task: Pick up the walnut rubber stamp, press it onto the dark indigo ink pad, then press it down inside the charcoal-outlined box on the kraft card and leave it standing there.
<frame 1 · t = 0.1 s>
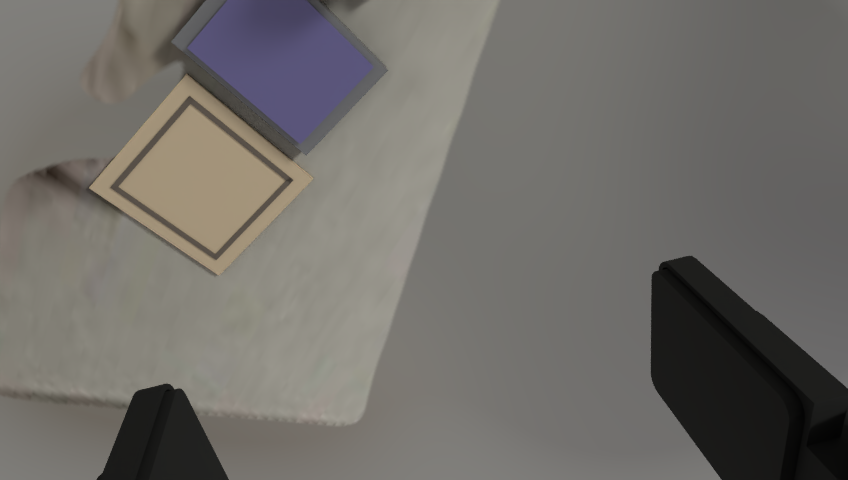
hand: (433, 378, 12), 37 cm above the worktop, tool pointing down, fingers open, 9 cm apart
ink pad: (284, 52, 44), on the worktop
card: (204, 182, 47), on the worktop
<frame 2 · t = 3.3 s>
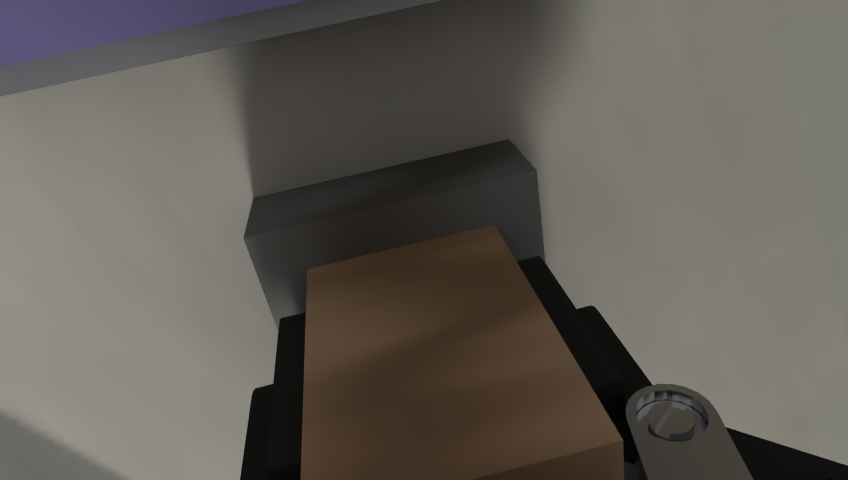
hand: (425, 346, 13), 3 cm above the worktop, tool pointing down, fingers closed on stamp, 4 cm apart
stamp: (407, 276, 15), on the worktop, touching gripper
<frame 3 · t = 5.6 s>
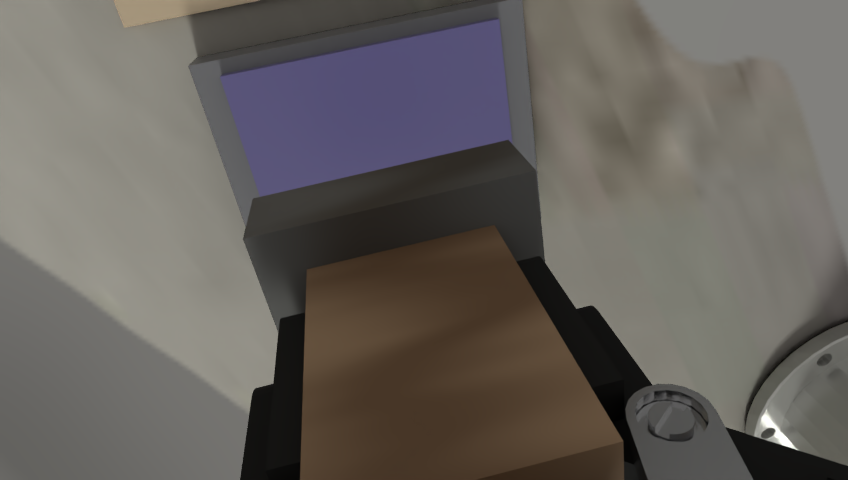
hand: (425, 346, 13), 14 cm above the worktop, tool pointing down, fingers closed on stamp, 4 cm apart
ink pad: (379, 138, 24), on the worktop
stamp: (407, 277, 15), point 11 cm above the worktop, touching gripper
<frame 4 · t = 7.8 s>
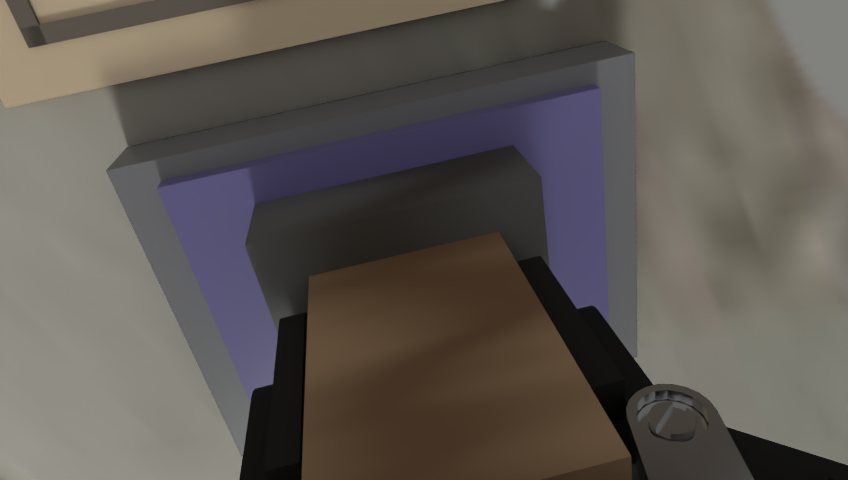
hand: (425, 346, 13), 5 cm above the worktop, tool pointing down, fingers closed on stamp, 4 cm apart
ink pad: (406, 249, 17), on the worktop
stamp: (410, 283, 15), point 2 cm above the worktop, touching gripper, ink pad
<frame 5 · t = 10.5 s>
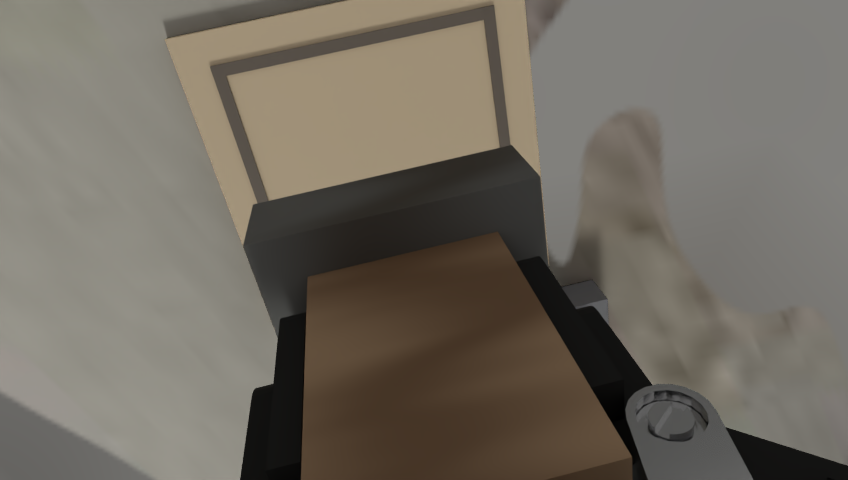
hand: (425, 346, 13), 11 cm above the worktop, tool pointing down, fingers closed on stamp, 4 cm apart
ink pad: (476, 386, 29), on the worktop
stamp: (409, 283, 15), point 9 cm above the worktop, touching gripper
card: (383, 165, 23), on the worktop
when the fingers open (3 cm above the worktop, at t = 12.2 s): stamp stays where it is, resting on card.
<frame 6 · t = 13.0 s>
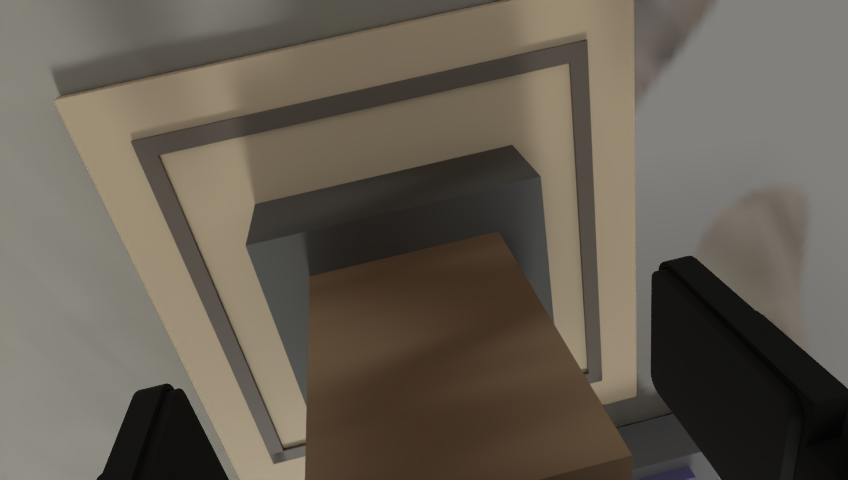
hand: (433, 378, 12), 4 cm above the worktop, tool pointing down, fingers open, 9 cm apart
stamp: (410, 282, 15), resting on card
card: (406, 274, 15), on the worktop
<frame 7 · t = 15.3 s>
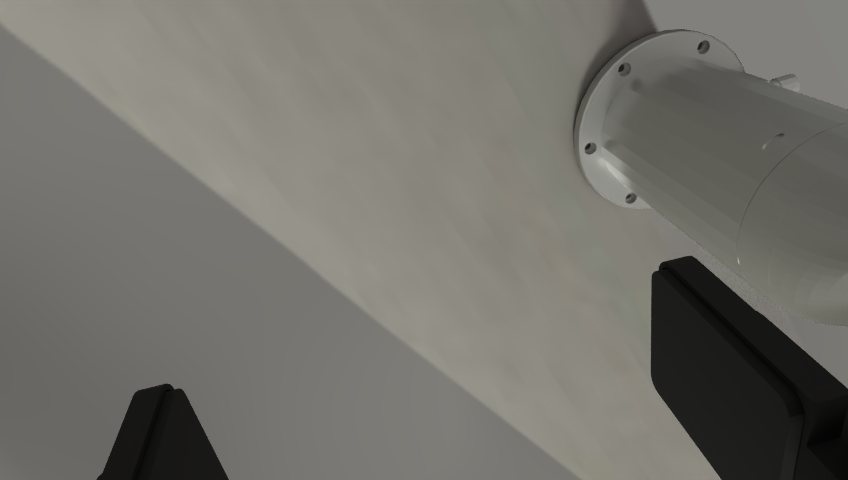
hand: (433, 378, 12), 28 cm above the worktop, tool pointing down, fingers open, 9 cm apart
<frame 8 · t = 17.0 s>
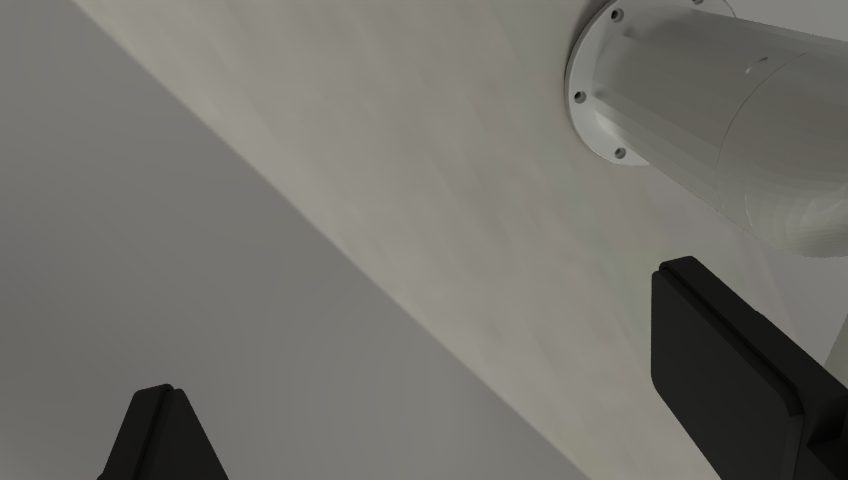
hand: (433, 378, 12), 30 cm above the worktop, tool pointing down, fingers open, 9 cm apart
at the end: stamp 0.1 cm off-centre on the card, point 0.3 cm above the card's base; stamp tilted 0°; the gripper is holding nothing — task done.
